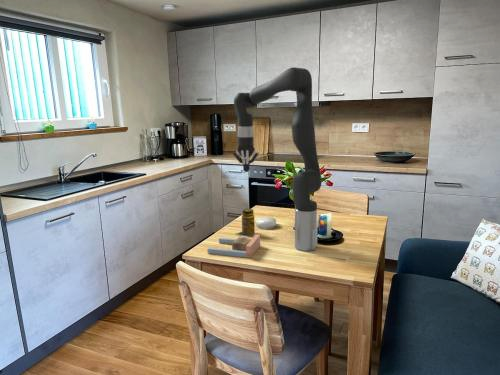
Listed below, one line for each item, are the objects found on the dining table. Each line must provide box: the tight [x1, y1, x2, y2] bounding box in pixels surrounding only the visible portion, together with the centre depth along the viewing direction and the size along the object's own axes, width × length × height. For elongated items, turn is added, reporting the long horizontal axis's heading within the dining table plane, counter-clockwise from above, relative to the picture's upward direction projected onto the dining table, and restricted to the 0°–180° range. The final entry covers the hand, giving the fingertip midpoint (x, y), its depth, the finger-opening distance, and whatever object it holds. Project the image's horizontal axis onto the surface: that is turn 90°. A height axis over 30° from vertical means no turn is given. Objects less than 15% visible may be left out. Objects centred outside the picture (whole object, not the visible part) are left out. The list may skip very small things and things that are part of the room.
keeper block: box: [231, 236, 252, 251], centre depth 161 cm, size 6×7×4 cm
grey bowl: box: [255, 216, 277, 230], centre depth 190 cm, size 10×10×3 cm
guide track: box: [207, 234, 261, 259], centre depth 160 cm, size 19×14×5 cm
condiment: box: [235, 208, 258, 238], centre depth 178 cm, size 7×8×12 cm
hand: (246, 171), depth 181 cm, fingers closed
